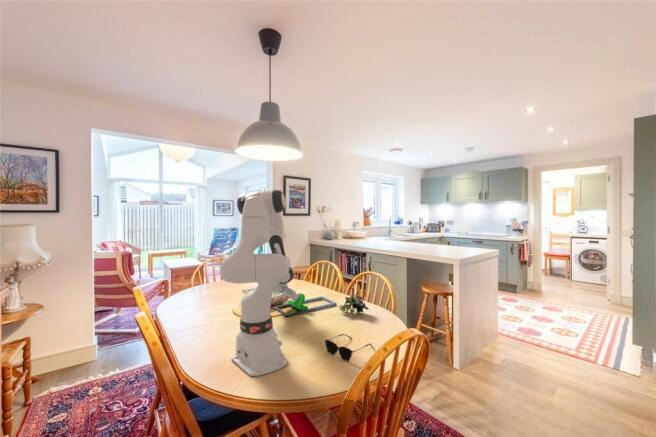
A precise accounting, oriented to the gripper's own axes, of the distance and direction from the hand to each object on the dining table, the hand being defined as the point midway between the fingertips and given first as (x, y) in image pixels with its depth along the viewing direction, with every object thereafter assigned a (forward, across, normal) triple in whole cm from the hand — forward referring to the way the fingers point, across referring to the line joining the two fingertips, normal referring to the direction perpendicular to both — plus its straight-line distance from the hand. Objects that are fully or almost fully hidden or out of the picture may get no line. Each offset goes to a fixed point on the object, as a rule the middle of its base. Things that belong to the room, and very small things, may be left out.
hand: (295, 299), depth 157 cm
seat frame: (+3, 0, +5) cm, 6 cm away
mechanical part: (+4, 0, +2) cm, 5 cm away
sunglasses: (+2, -54, +6) cm, 54 cm away
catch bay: (+14, 0, -7) cm, 16 cm away
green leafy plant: (+19, -26, -11) cm, 34 cm away
